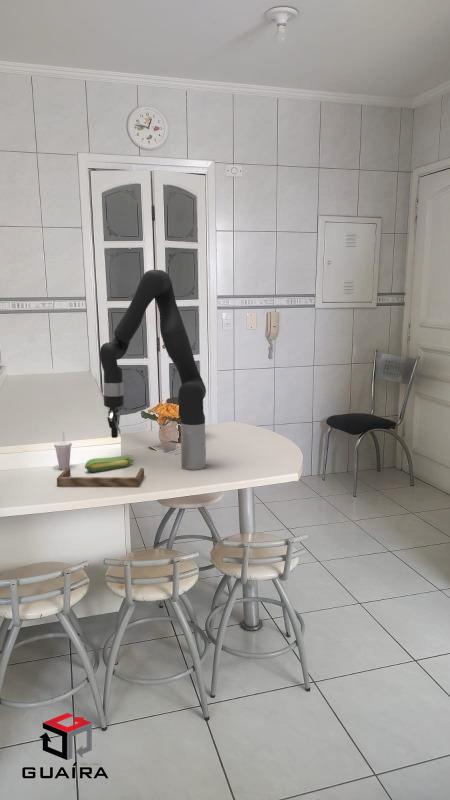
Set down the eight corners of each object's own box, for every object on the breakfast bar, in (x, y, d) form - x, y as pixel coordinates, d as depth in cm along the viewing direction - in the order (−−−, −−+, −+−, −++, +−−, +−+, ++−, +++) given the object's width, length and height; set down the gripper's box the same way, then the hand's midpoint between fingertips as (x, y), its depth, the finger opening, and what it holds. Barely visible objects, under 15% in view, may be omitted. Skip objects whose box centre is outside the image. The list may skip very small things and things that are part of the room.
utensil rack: (144, 476, 202) (143, 468, 201) (138, 486, 191) (138, 478, 190) (67, 475, 202) (66, 467, 202) (57, 486, 191) (56, 478, 191)
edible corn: (82, 459, 208) (85, 459, 204) (133, 453, 218) (137, 453, 214) (84, 473, 207) (87, 473, 204) (134, 467, 217) (139, 466, 213)
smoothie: (76, 466, 213) (74, 431, 211) (65, 471, 208) (63, 434, 205) (63, 464, 216) (61, 429, 213) (51, 469, 210) (49, 433, 208)
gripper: (119, 397, 209) (120, 441, 212) (126, 391, 222) (127, 433, 225) (99, 396, 209) (101, 441, 212) (107, 390, 222) (108, 433, 225)
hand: (114, 437), depth 219 cm, fingers closed
